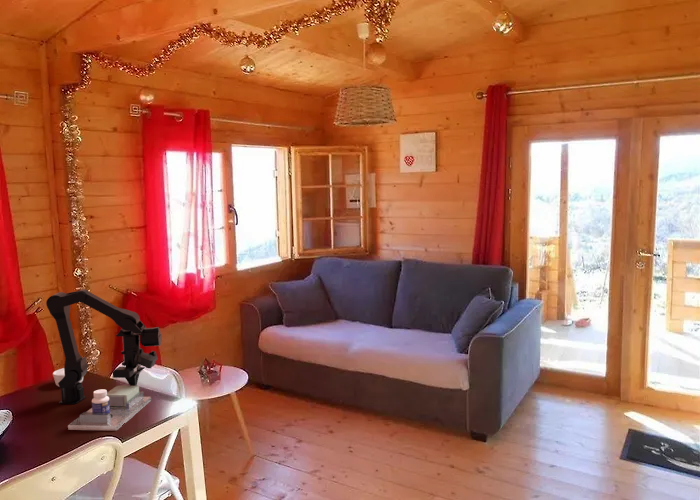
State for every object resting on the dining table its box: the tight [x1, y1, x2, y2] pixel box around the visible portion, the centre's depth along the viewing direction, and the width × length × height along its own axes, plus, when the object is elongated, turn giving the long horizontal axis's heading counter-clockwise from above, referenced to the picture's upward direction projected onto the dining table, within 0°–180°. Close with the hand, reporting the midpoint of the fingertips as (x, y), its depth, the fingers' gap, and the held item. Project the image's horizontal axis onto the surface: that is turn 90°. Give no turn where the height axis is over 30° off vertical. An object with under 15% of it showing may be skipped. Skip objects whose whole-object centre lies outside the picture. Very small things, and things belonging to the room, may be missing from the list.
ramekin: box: [52, 367, 85, 388], centre depth 222 cm, size 11×11×5 cm
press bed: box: [67, 390, 152, 432], centre depth 190 cm, size 16×25×4 cm, turn 175°
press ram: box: [106, 385, 140, 406], centre depth 197 cm, size 8×10×4 cm
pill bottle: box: [91, 389, 110, 413], centre depth 183 cm, size 5×5×9 cm
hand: (134, 388), depth 206 cm, fingers closed
